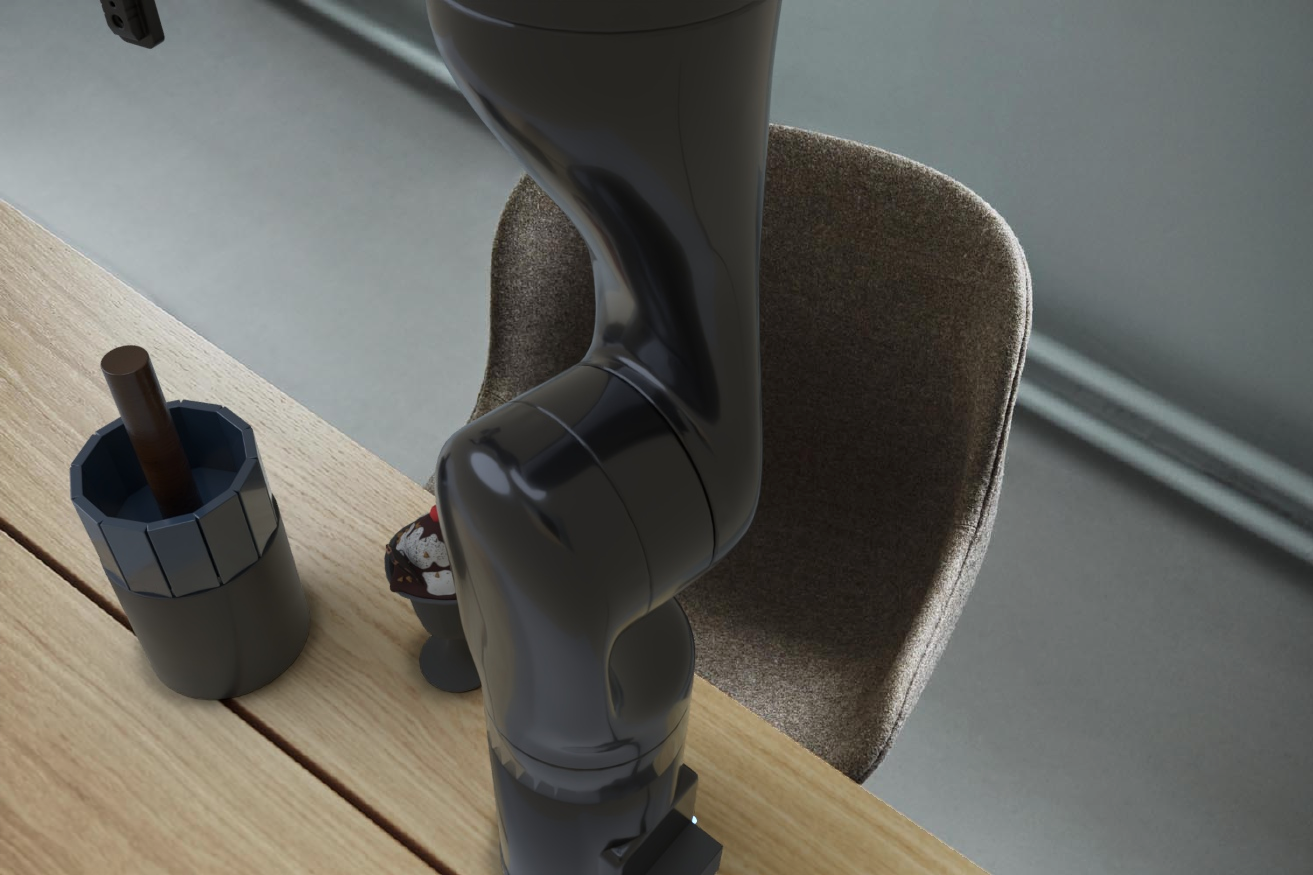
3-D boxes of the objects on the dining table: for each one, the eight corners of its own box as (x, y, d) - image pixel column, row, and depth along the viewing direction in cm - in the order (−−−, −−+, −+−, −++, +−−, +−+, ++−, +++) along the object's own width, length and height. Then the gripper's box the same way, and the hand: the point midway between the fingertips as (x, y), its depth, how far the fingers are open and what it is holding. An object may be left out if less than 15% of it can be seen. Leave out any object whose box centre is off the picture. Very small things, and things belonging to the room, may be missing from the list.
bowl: (310, 523, 64) (292, 456, 61) (167, 625, 59) (137, 560, 55) (210, 444, 68) (187, 376, 64) (68, 534, 63) (33, 467, 59)
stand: (342, 625, 72) (315, 522, 64) (211, 730, 66) (166, 630, 59) (246, 546, 76) (211, 441, 68) (116, 638, 70) (62, 534, 63)
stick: (215, 510, 64) (157, 349, 55) (195, 540, 62) (132, 379, 54) (179, 502, 64) (116, 340, 56) (158, 531, 63) (90, 370, 54)
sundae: (523, 617, 73) (512, 456, 62) (503, 710, 68) (487, 553, 57) (420, 606, 73) (391, 443, 62) (393, 698, 68) (356, 539, 57)
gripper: (38, -350, 39) (166, 90, 50) (298, -417, 48) (355, -32, 59) (-126, -381, 40) (33, 50, 52) (154, -440, 50) (236, -63, 61)
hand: (205, 6), depth 56 cm, fingers open, 8 cm apart
